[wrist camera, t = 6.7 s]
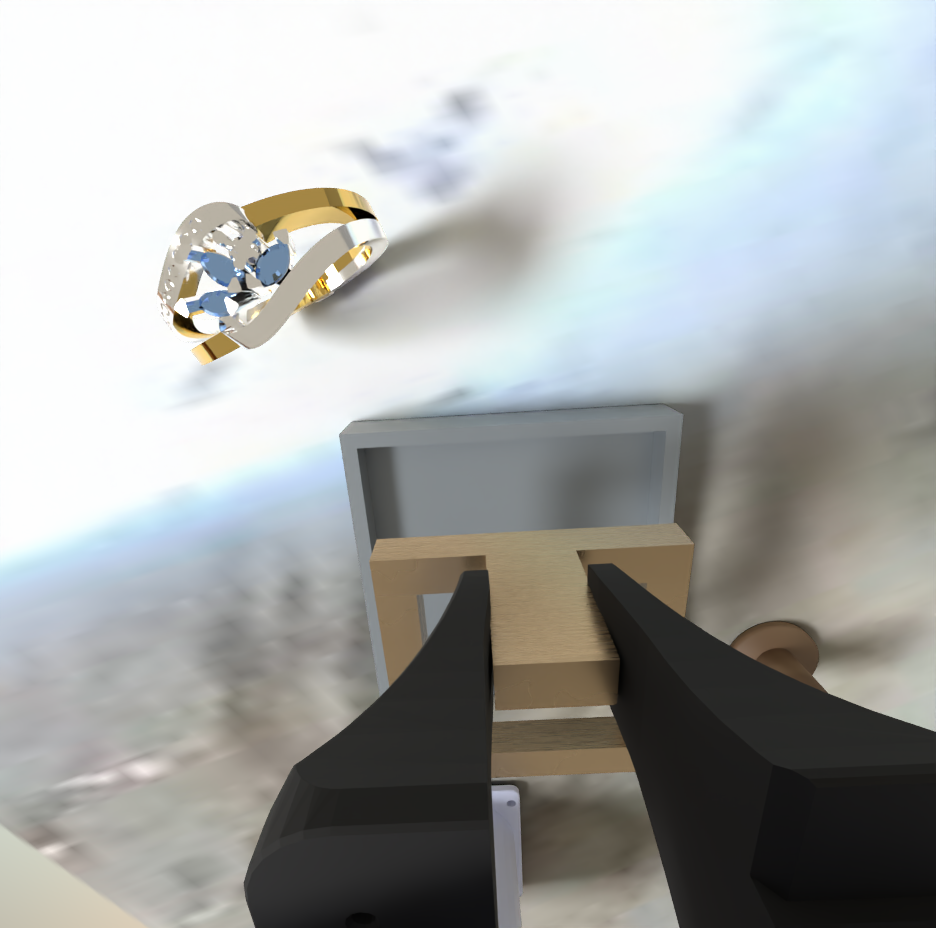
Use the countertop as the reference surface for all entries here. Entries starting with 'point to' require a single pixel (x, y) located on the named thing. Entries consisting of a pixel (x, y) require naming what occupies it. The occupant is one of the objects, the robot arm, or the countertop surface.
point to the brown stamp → (782, 650)
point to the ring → (262, 265)
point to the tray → (505, 479)
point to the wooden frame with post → (535, 628)
